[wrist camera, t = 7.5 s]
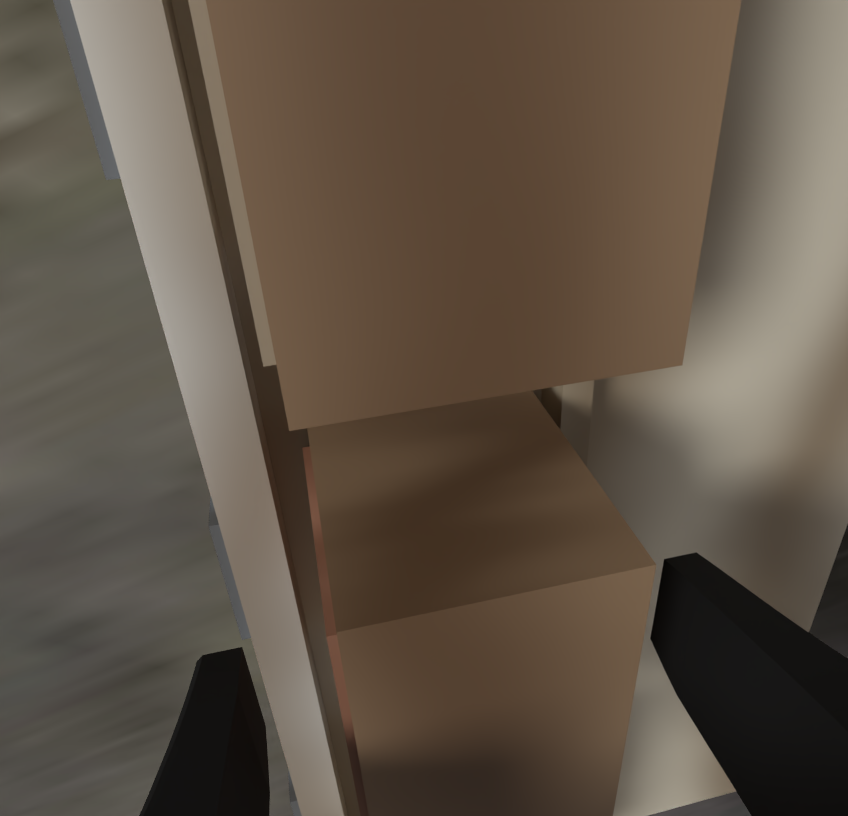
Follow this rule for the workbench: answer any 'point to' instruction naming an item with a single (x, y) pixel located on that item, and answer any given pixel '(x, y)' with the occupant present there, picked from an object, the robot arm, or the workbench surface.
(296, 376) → the faced block
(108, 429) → the workbench surface
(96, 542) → the workbench surface
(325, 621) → the turned block
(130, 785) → the workbench surface
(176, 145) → the long shallow wooden tray
